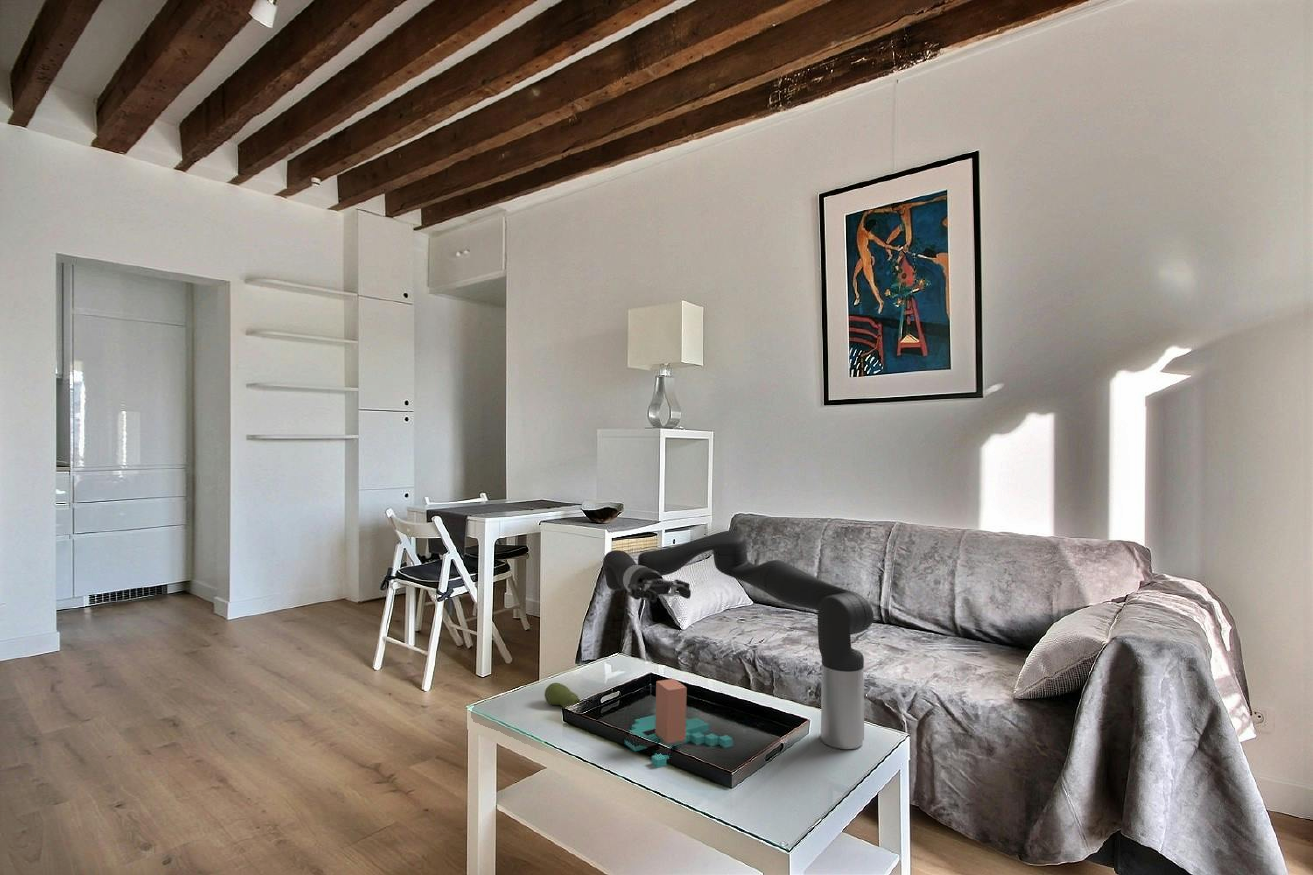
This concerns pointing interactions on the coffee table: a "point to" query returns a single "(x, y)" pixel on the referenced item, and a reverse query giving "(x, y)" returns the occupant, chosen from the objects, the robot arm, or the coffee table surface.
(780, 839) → the coffee table surface
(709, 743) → the alien figure
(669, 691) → the block
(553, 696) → the pear
